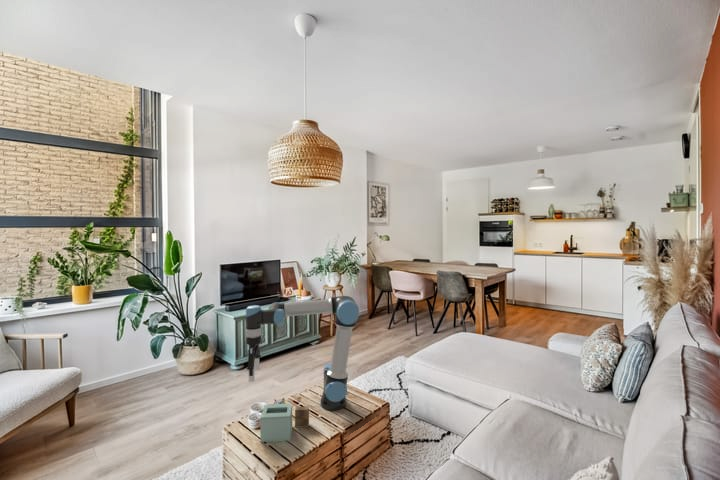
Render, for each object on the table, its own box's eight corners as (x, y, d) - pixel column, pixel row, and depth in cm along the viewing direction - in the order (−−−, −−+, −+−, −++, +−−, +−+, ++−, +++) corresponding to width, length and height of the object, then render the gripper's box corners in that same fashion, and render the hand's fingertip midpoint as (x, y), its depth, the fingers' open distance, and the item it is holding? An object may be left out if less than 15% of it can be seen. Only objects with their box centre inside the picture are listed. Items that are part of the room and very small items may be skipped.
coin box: (292, 425, 180) (292, 403, 179) (290, 440, 168) (290, 416, 168) (264, 427, 178) (264, 404, 178) (260, 441, 167) (260, 417, 166)
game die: (281, 421, 190) (282, 413, 184) (267, 414, 192) (268, 406, 186) (289, 407, 197) (291, 398, 191) (276, 400, 199) (277, 391, 192)
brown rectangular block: (308, 423, 183) (309, 406, 182) (308, 426, 180) (308, 409, 180) (295, 423, 182) (295, 406, 182) (295, 427, 179) (295, 410, 179)
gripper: (251, 328, 193) (251, 366, 194) (240, 344, 169) (241, 387, 170) (265, 328, 194) (265, 365, 195) (256, 343, 169) (257, 386, 170)
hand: (254, 375), depth 182 cm, fingers open, 13 cm apart
